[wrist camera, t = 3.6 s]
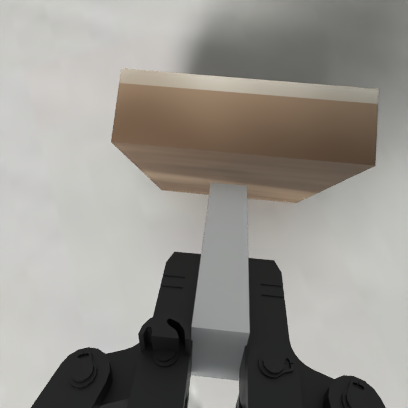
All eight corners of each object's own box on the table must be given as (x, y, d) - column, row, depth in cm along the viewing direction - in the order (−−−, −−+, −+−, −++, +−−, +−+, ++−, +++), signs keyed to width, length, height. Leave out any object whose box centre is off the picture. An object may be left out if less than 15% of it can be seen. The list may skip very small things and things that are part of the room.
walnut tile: (166, 151, 25) (121, 68, 13) (299, 163, 24) (378, 88, 12) (161, 190, 25) (111, 142, 13) (296, 203, 24) (375, 165, 12)
